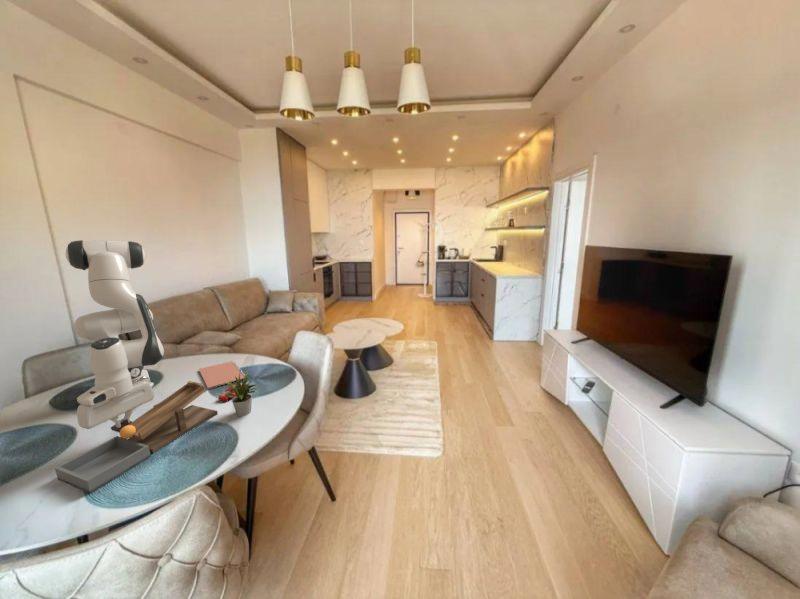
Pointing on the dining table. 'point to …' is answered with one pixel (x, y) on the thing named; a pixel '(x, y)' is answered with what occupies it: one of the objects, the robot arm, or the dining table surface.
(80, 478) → the tray
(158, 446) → the lever stand
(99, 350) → the robot arm
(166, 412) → the lever
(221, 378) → the notebook
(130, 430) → the ball
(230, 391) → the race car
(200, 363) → the dining table surface
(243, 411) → the house plant
